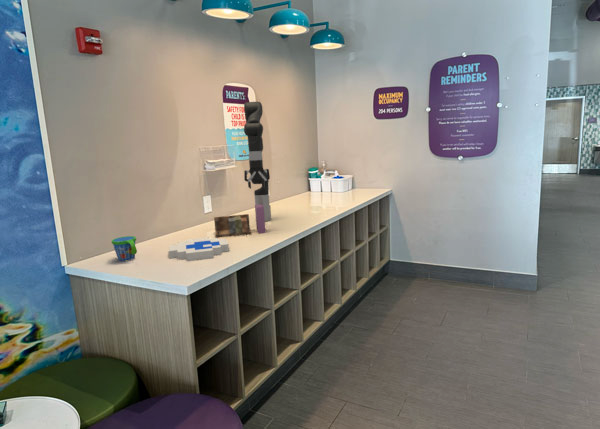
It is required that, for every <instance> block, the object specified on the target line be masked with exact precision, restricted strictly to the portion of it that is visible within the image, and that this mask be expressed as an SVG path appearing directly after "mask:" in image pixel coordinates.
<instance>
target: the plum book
mask: <svg viewBox="0 0 600 429" xmlns="http://www.w3.org/2000/svg"><path fill="white" fill-rule="evenodd" d="M254 208H255V209H254V212H255V213H254V214H255V223H256V225H255V226H256V231H257V234H266V221H265V218H264V207H263V205H262V204H260V205H255V204H254Z"/></svg>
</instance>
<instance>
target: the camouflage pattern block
mask: <svg viewBox="0 0 600 429" xmlns="http://www.w3.org/2000/svg"><path fill="white" fill-rule="evenodd" d="M213 219H214V230H215V231H214V233H215V238H218V239H219V238H227V237H228V238H229V237H235V236H247V235H252V229H251V227H250V216H249V213H246V214H234V215H233V214H232V215H224V216H222V215H221V216H214V217H213Z"/></svg>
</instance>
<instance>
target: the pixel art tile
mask: <svg viewBox="0 0 600 429" xmlns="http://www.w3.org/2000/svg"><path fill="white" fill-rule="evenodd" d="M228 242H229V241H228V240H227V238H219V237H218V238H216V237H213V238H212V237H209V236H208V237H207V236H205V237H196V238H189V239H188V238H187V239H185V241H178V242H177V244H169V245H168V258H170V259H177V260H178V259H181V260H186V262H189V261H190V262H191V260H192V261H199V259H200V260H206V259H207V258H208V259H214V258H215V257H214V256H220V255H222V253H226V252H230V246H229V243H228ZM176 257H178V258H176ZM208 259H207V260H208Z"/></svg>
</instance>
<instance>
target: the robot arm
mask: <svg viewBox="0 0 600 429" xmlns="http://www.w3.org/2000/svg"><path fill="white" fill-rule="evenodd" d="M243 111H244V118H245V124H244V127H243V132H244V134H245V136H247V144H248V164H249V170H246V169H245V170H244V176H243V177H244V181H245V182H247V185H248V188H249V189H252V185H261V187H260V188H257V189H254V192H253V194H254V206H255V205H260V204H262V205H263V207H264V218H265V222H269V221H271V220H272V209H271V205H270V195H269V193H270V192H269V191H270V187H269V185H270V184H269V180H271V179H270V178H271V177H270V169H269V168H266V169H264V165H263V162H264V161H263V150H264V143H263V142H264V141H263V133H264V126H263V124H262V123H261V119H262V116H263V104H262V103H261V102H260V101H249V102H248V101H247V102H244V105H243ZM248 174H250V175H249V178H248Z"/></svg>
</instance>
